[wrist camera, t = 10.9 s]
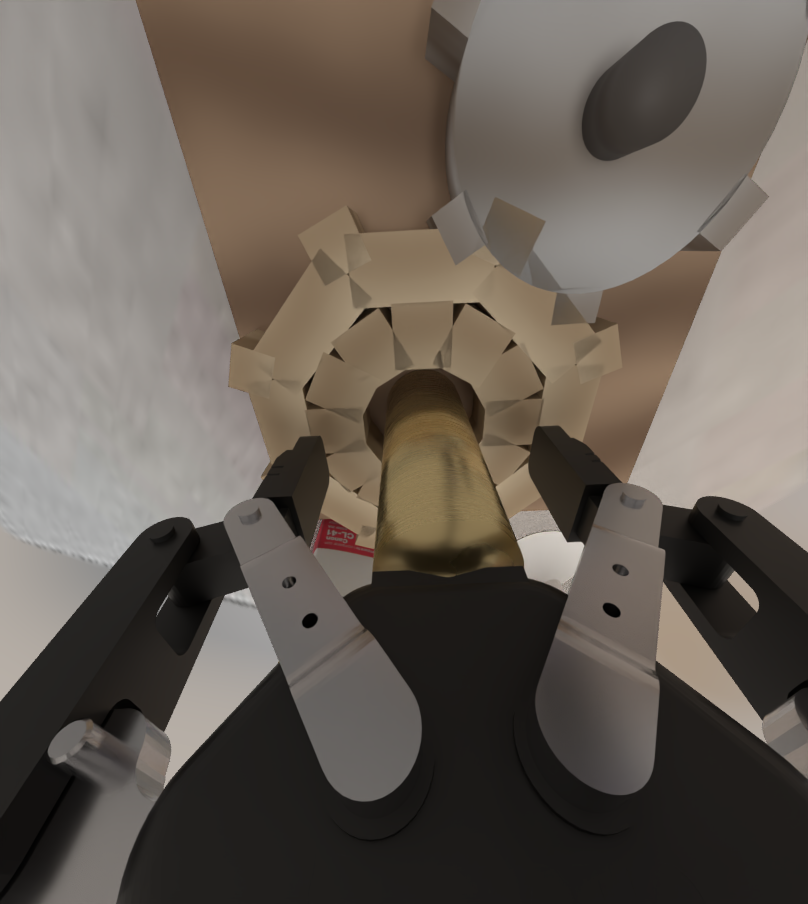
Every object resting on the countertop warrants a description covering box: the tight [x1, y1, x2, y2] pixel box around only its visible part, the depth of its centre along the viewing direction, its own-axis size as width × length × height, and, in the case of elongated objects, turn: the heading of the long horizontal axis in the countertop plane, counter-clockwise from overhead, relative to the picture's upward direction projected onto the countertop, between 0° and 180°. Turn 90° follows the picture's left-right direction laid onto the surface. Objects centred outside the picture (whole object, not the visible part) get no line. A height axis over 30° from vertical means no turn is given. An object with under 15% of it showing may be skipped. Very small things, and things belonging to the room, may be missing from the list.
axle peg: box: [372, 369, 524, 577], centre depth 12 cm, size 4×4×10 cm
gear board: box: [136, 0, 808, 549], centre depth 13 cm, size 23×20×5 cm
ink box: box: [278, 519, 374, 663], centre depth 19 cm, size 9×5×12 cm, turn 158°
